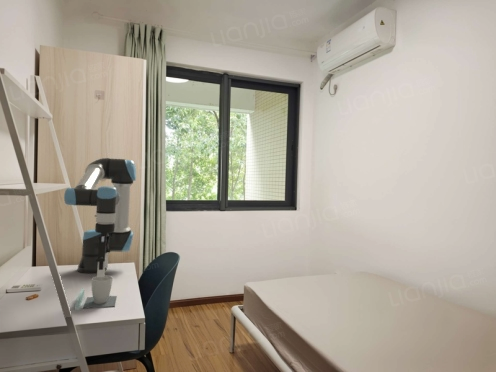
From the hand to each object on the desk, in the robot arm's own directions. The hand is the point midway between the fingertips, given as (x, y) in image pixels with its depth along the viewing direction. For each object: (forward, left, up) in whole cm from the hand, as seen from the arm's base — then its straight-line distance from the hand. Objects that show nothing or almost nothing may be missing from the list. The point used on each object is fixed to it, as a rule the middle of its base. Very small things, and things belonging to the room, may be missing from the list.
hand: (102, 272), depth 136 cm
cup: (0, 0, -13) cm, 13 cm away
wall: (0, -8, -13) cm, 15 cm away
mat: (0, 0, -13) cm, 13 cm away
